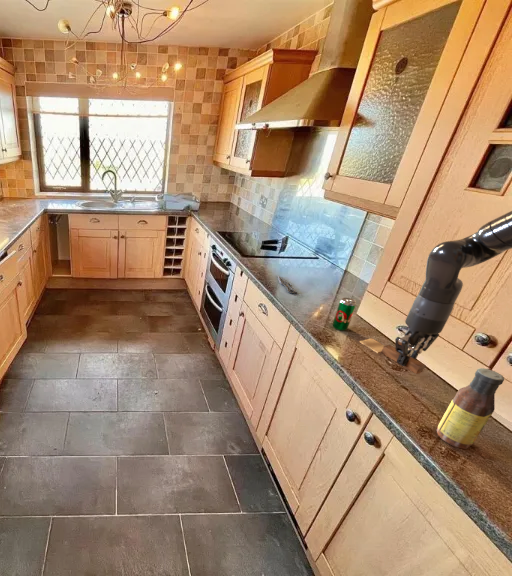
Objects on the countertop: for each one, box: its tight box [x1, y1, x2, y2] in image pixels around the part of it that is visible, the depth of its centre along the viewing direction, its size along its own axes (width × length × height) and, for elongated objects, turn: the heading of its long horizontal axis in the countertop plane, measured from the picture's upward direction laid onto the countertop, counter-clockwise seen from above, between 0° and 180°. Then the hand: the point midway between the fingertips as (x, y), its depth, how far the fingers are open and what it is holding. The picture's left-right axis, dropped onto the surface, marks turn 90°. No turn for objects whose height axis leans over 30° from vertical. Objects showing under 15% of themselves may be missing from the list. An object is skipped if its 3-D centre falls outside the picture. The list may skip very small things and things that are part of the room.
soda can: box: [332, 297, 357, 332], centre depth 115 cm, size 5×5×12 cm
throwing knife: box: [277, 275, 297, 294], centre depth 152 cm, size 4×20×1 cm, turn 176°
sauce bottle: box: [436, 367, 505, 450], centre depth 70 cm, size 7×6×20 cm
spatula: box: [359, 338, 427, 375], centre depth 93 cm, size 16×5×2 cm, turn 16°
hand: (404, 363), depth 90 cm, fingers closed on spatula, 2 cm apart
